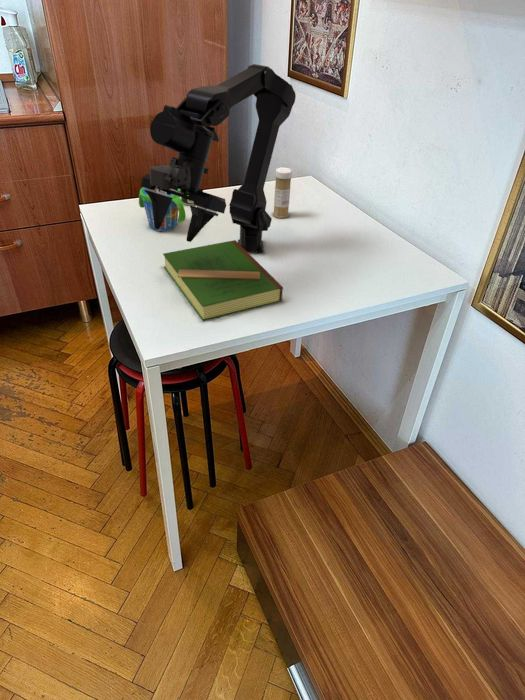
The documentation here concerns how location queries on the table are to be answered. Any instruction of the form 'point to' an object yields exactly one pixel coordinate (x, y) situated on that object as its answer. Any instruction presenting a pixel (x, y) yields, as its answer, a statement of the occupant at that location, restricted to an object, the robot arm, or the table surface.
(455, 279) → the table surface
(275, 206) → the sprinkles bottle
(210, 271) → the ruler
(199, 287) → the hardcover book
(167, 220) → the snack cup
